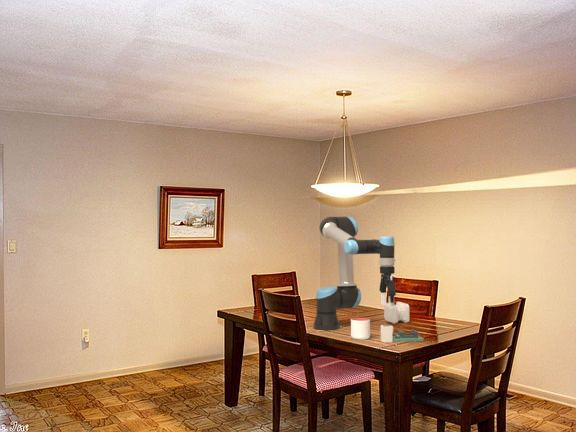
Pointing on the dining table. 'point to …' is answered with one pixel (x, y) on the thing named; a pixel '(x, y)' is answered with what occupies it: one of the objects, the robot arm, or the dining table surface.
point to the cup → (360, 328)
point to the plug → (386, 333)
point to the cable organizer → (397, 313)
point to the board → (406, 336)
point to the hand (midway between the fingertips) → (387, 307)
